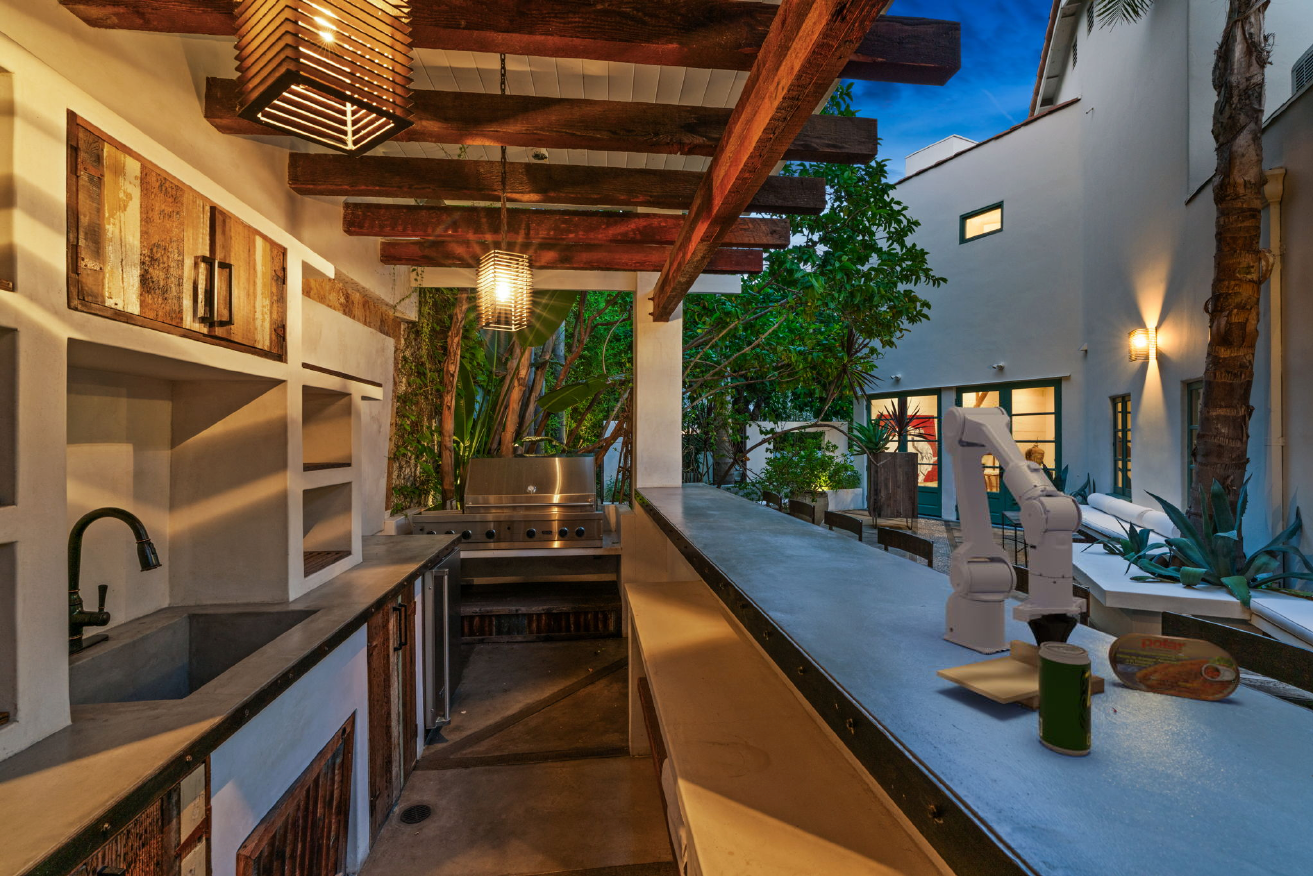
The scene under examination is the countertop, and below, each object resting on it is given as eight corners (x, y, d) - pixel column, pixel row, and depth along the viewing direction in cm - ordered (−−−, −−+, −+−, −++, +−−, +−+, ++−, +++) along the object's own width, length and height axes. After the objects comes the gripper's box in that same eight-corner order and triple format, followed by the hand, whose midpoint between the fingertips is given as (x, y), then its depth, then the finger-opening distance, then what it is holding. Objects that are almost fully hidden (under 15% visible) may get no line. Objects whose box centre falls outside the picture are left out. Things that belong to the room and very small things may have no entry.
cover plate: (936, 675, 91) (936, 652, 91) (1012, 659, 98) (1012, 637, 98) (1003, 703, 81) (1003, 677, 81) (1082, 683, 88) (1082, 659, 88)
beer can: (1046, 753, 73) (1045, 653, 73) (1033, 733, 78) (1032, 639, 78) (1098, 760, 71) (1098, 658, 71) (1081, 739, 76) (1081, 643, 77)
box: (970, 684, 94) (970, 671, 94) (1039, 669, 100) (1038, 657, 100) (1033, 710, 84) (1033, 696, 84) (1104, 691, 91) (1104, 678, 91)
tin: (1110, 687, 93) (1110, 631, 93) (1106, 679, 96) (1106, 626, 96) (1241, 707, 86) (1241, 647, 86) (1233, 698, 89) (1232, 640, 89)
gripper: (1045, 584, 87) (1045, 679, 87) (1107, 575, 93) (1107, 664, 93) (999, 574, 94) (1000, 662, 93) (1060, 566, 99) (1060, 649, 99)
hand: (1050, 662), depth 94 cm, fingers closed
